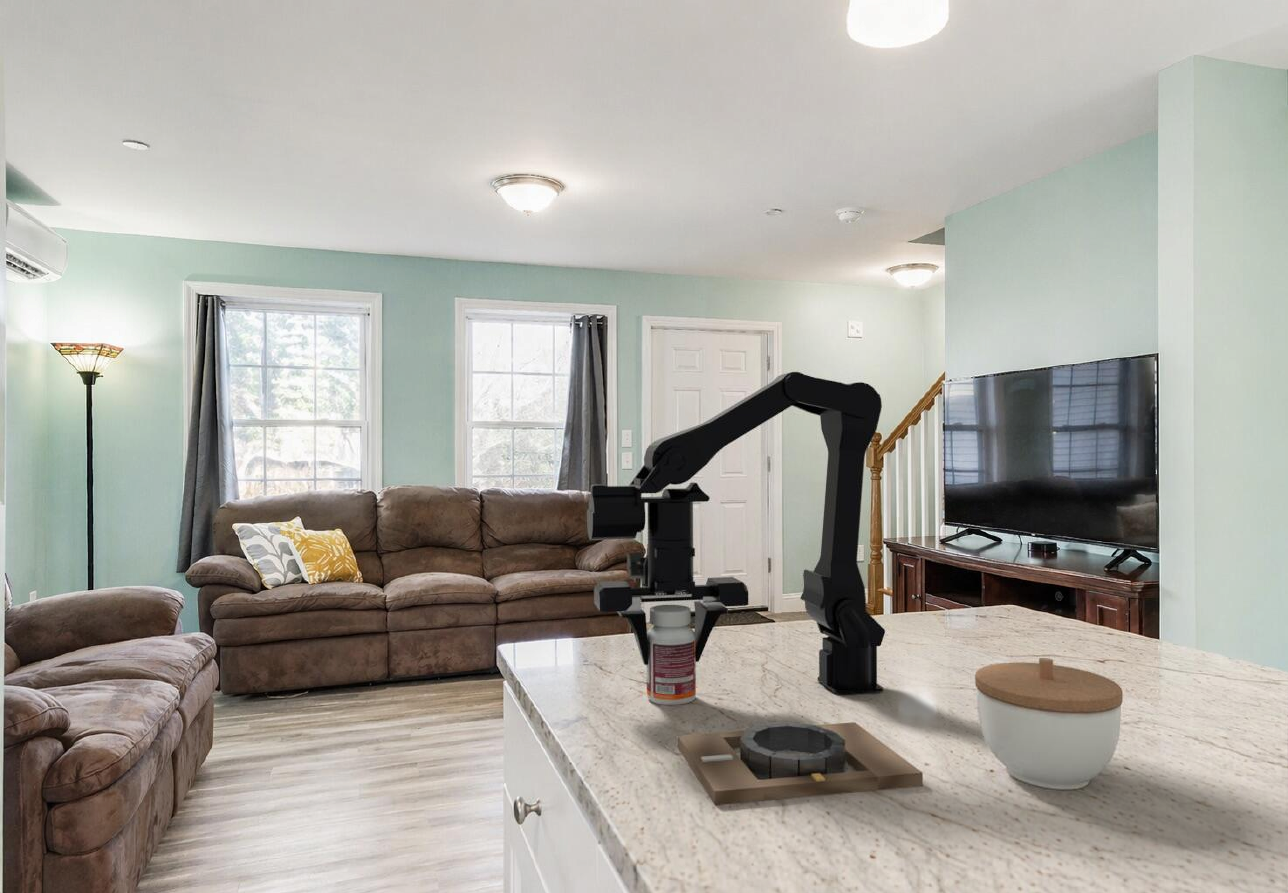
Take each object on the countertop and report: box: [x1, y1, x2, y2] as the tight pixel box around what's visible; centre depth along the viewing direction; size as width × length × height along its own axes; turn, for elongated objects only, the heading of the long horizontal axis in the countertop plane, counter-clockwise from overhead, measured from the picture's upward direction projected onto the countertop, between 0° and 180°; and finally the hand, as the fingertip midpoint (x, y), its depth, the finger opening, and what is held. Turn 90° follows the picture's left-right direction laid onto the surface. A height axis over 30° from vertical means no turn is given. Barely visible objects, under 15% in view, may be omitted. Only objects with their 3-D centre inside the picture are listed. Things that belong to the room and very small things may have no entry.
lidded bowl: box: [974, 657, 1124, 791], centre depth 77 cm, size 13×13×11 cm
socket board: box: [677, 721, 924, 806], centre depth 80 cm, size 20×14×2 cm
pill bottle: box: [646, 604, 697, 706], centre depth 101 cm, size 6×6×11 cm
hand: (671, 662), depth 101 cm, fingers closed on pill bottle, 6 cm apart
